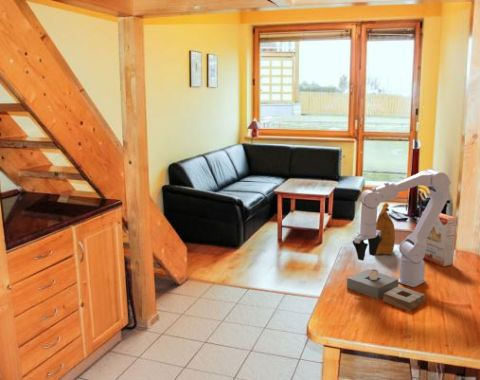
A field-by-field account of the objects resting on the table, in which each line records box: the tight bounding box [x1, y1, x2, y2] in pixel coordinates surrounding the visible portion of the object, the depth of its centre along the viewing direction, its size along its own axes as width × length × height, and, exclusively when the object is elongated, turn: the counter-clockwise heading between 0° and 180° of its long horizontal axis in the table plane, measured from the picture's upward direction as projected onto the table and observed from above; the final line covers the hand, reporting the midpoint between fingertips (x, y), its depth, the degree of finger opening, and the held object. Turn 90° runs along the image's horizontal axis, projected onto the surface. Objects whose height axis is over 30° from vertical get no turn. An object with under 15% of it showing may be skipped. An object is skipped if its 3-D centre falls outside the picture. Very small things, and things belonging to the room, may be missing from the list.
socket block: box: [382, 285, 426, 312], centre depth 171 cm, size 10×10×3 cm
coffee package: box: [375, 202, 396, 256], centre depth 222 cm, size 10×12×22 cm
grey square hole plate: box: [346, 269, 399, 300], centre depth 182 cm, size 13×13×4 cm
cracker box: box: [421, 210, 458, 268], centre depth 210 cm, size 14×6×21 cm, turn 25°
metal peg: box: [369, 269, 379, 282], centre depth 182 cm, size 3×3×7 cm
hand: (366, 257), depth 185 cm, fingers open, 7 cm apart
